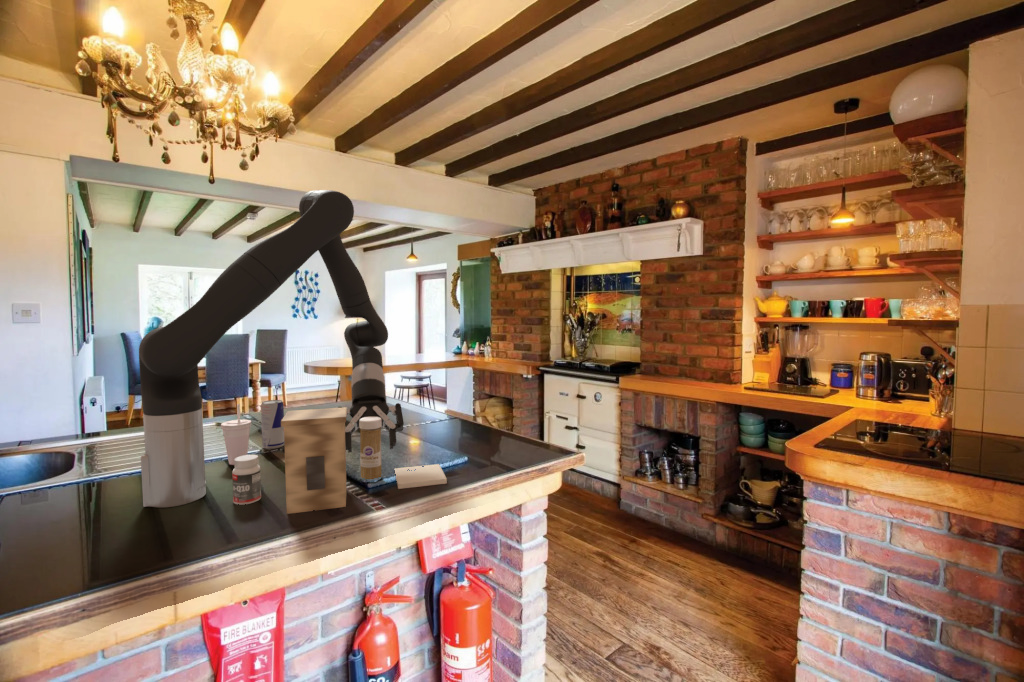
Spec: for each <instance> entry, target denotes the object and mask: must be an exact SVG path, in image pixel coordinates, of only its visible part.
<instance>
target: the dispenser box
mask: <svg viewBox="0 0 1024 682" xmlns="http://www.w3.org/2000/svg"><path fill="white" fill-rule="evenodd" d="M347 409H348V407H347V406H346V407H345V406H344V407H342V408H338V407H331V408H328V407H326V408H313V409H311V408H310V409H298V410H297V409H296V410H295V409H293V410H287V411H286V413H284V417H283V419H282V420H281V427H284V466H285V467H284V468H285V469H284V470H285V472H284V473H285V474H284V475H285V499H286V515H289V514H296V513H305V512H312V511H313V510H315V511H321V510H329V509H337V508H346V507H347V506H346V505H347V464H346V463H347V459H346V457H347V455H346V454H347V453H346V452H347V450H346V447H345V428H346V422H347V417H348V415H347ZM346 416H347V417H346Z"/></svg>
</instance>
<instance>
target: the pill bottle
mask: <svg viewBox="0 0 1024 682" xmlns="http://www.w3.org/2000/svg"><path fill="white" fill-rule="evenodd" d="M233 466H234V468H233V470H232V473H231V475H232V476H231V477H232V478H231V479H232V502H233V504H235V505H238V504H239V506H240V505H241V506H244V505H245V504H246V505H251V504H253V503H256V502H258V501H260V500H261V498H262V478H261V475H262V473H261V471H262V470H261V466H260V464H259V455H257V454H247V455H243V456H239V457H237V458H235V459H234V465H233ZM246 505H245V506H246Z"/></svg>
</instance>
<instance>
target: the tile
mask: <svg viewBox="0 0 1024 682" xmlns="http://www.w3.org/2000/svg"><path fill="white" fill-rule="evenodd" d="M422 466H424V467H422ZM408 469H409V470H410V471H409V470H408ZM415 469H416V470H415ZM394 470H395V473H394V475H395V474H396V477H395V481H397V482H396V485H397V489H398V490H400V489H401V490H402V489H410V488H417V487H420V488H421V487H427V486H436V485H445V484H448V482H447V481H448V479H447V477H446V475H445V472H444V471H443V469H442V467H441V465H440V464H439V463H435V464H427V465H426V464H425V465H415V466H407V467H397V468H396V467H395V468H394V469H393V471H394ZM407 470H408V471H407ZM411 470H412V471H411ZM414 470H415V471H414Z"/></svg>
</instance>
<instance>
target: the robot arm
mask: <svg viewBox="0 0 1024 682" xmlns="http://www.w3.org/2000/svg"><path fill="white" fill-rule="evenodd" d="M354 208H355V207H354V204H353V201H352V200H351V199H350V198H349V196H348V195H346V194H345V193H343V192H341V191H337V190H331V189H330V190H328V189H321V190H320V189H316V190H310V191H308V192H306V193H305V194H304V195H303V196H302V197H301V199H300V201H299V204H298V212H299V216H300V217H299V218H298V219H297V220H296V221H295V222H294V223H293V224H291V225H290V226H289V227H287V228H285V229H284V230H282V231H279V232H278V233H275V234H274V235H272V236H270V237H267V238H266V239H264V240H262V241H260V242H258V243H256V244H255V245H253V246H252V247H250V248H249V249H247V250H246V251H245V252H244V253H242V254H241V255H240V256H239V257H238V258H237V259H235V260H234V261H233V262H232V263H231V264H230V265H229V266H228V267H226V269H224V270H223V272H221V274H220V275H219V276H218V277H216V279H215V280H214V281H213V283H212V284H211V286H209V288H208V289H207V290H206V291H205V293H204V294H203V295H202V297H200V299H199V300H198V301H197V302H196V303H195V304H193V305H192V306H191V307H190V308H189V309H187V310H186V311H184V312H182V313H181V314H180V315H179V316H177V317H176V318H175V319H173V320H172V321H170V322H169V323H168V324H166V325H164V326H160V327H157V328H154V329H152V330H150V331H149V332H148V333H147V334H145V335H144V336H143V338H142V339H141V341H140V343H139V347H138V362H139V363H138V364H139V366H138V367H139V378H140V379H139V380H140V395H141V402H142V416H143V434H144V435H143V436H144V437H143V438H144V453H143V454H142V455H141V457H140V471H141V473H140V474H141V488H142V490H141V491H142V506H143V507H144V508H146V507H152V508H170V507H171V508H172V507H178V506H182V505H187V504H190V503H193V502H196V501H199V500H200V499H201V498H203V497H205V495H206V494H207V491H206V490H207V489H206V485H207V483H206V466H205V462H206V461H205V444H204V443H205V442H204V441H205V440H204V422H203V420H204V419H203V400H202V396H203V395H202V391H201V387H200V380H199V366H198V365H199V364H200V363H201V362H202V360H203V359H204V358H205V357H206V356H207V354H208V353H209V352H210V350H212V348H214V346H215V345H216V344H217V343H218V342H219V341H220V339H222V337H224V335H225V334H226V333H227V332H228V331H229V330H230V329H232V328H233V326H235V325H236V324H237V323H238V322H240V321H242V320H243V319H245V318H246V317H247V316H248V315H249V314H251V313H252V312H253V311H254V310H255V309H257V307H259V306H260V305H261V304H263V303H264V302H265V301H266V300H267V299H268V298H270V296H272V295H273V293H275V292H276V291H277V290H278V289H279V288H280V287H281V286H282V285H284V283H285V282H286V281H287V280H288V279H289V278H290V277H292V275H294V273H296V272H297V271H298V270H299V269H300V268H301V267H302V266H303V265H304V264H305V263H306V262H307V261H308V260H309V259H310V258H311V257H312V256H313V255H314V254H315V253H316V252H317V251H318V253H319V254H320V255H319V256H321V259H322V260H323V263H324V265H325V267H326V270H327V271H328V274H329V277H330V279H331V282H332V284H333V286H334V287H333V288H334V290H335V292H336V295H337V298H338V302H339V304H340V307H341V310H342V313H343V314H344V315H345V316H346V317H350V318H361V319H363V320H362V321H358V322H354V323H353V322H352V323H350V324H348V325H347V326H346V328H345V329H344V332H343V335H344V340H345V342H346V345H347V347H348V349H349V352H350V355H351V363H352V366H351V367H352V374H351V386H350V388H351V407H350V408H347V416H346V418H347V417H348V416H350V417H351V418H352V419H351V420H350V422H349V423H348V424H347V426H345V447H346V451H347V453H352V451H353V449H352V448H353V447H352V442H353V441H352V438H353V437H352V435H353V434H354V433H355V432H356V431H358V429H360V428H359V420H360V419H361V418H364V417H380V418H381V421H382V426H381V428H383V430H386V431H387V432H388V441H389V449H390V450H392V449H394V447H395V446H396V445H397V432H403V431H404V425H405V424H404V423H405V422H404V417H403V411H402V405H401V403H398V402H397V403H396V404H395V405H390V406H389V405H388V404H387V395H386V381H385V374H384V366H383V365H384V364H383V355H382V353H381V351H380V350H379V349H378V348H377V347H381V346H383V345H385V344H386V343H387V342H388V339H389V331H388V329H387V326H386V325H385V322H384V321H383V319H382V318H381V317H380V316H379V314H378V313H377V311H376V309H375V307H374V306H373V303H372V301H371V299H370V295H369V292H368V288H367V286H366V283H365V280H364V278H363V276H362V273H361V272H360V270H359V269H358V267H357V266H356V264H355V262H354V261H353V260H352V258H351V256H350V255H349V253H348V251H347V248H346V247H345V245H344V243H343V240H342V238H341V237H342V236H341V234H342V233H343V232H344V231H346V230H347V229H348V228H349V226H350V225H351V224H352V222H353V218H354V215H355V214H354V213H355V209H354ZM337 408H343V407H342V406H338V407H337ZM389 413H391V414H392V416H393V417H395V420H396V423H394V422H393V421H392V420H391V419H390V417H389V416H388V414H389Z"/></svg>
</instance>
